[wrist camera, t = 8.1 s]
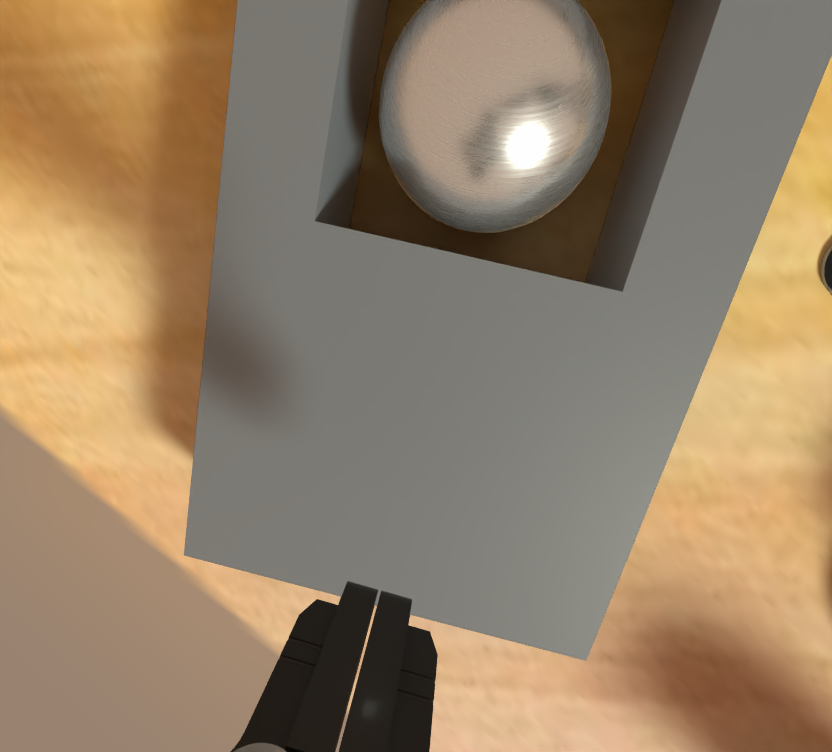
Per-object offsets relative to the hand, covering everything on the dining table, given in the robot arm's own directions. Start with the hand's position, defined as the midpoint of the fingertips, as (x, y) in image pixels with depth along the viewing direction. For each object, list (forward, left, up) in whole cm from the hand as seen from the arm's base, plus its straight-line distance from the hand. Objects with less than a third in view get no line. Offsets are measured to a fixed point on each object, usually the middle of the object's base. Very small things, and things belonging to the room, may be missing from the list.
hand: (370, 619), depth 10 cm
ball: (-12, 0, -6) cm, 13 cm away
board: (-7, 0, -9) cm, 11 cm away
